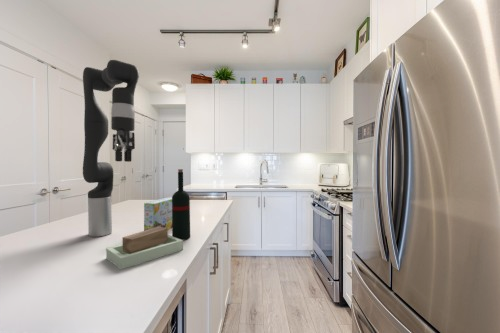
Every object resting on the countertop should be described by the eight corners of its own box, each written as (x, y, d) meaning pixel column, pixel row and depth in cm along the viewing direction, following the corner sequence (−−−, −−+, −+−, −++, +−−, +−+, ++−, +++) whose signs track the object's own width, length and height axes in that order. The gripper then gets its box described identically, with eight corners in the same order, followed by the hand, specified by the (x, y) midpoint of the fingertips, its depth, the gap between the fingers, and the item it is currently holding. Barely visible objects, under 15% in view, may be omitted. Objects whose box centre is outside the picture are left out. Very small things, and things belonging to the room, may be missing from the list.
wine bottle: (185, 232, 112) (184, 168, 112) (193, 238, 104) (192, 169, 103) (168, 235, 108) (167, 169, 107) (174, 241, 99) (173, 169, 99)
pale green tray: (106, 258, 82) (106, 248, 82) (165, 242, 99) (165, 233, 99) (121, 269, 74) (120, 258, 74) (183, 249, 90) (183, 240, 90)
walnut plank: (122, 251, 81) (122, 237, 81) (158, 239, 94) (158, 226, 94) (132, 254, 78) (131, 239, 78) (167, 241, 92) (167, 228, 92)
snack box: (154, 237, 105) (154, 203, 105) (143, 236, 106) (142, 203, 106) (178, 224, 126) (178, 196, 126) (168, 224, 127) (168, 196, 127)
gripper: (142, 116, 86) (141, 161, 86) (126, 120, 95) (126, 161, 96) (119, 113, 80) (119, 161, 80) (105, 118, 89) (105, 161, 90)
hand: (123, 161), depth 88 cm, fingers open, 8 cm apart
